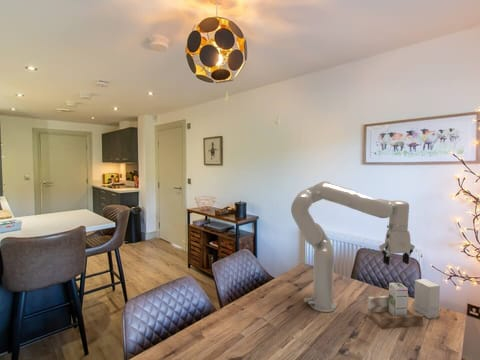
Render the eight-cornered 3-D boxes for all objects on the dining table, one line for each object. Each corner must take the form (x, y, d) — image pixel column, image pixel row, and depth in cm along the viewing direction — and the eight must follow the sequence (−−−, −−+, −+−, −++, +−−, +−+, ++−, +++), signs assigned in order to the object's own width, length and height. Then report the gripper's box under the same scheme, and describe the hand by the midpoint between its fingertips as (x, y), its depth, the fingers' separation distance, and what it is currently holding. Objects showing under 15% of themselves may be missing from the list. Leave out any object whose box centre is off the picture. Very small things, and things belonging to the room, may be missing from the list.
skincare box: (439, 317, 125) (441, 285, 124) (427, 319, 123) (429, 287, 122) (423, 307, 133) (425, 277, 132) (412, 309, 132) (414, 279, 130)
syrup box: (407, 318, 120) (408, 288, 119) (394, 318, 120) (396, 288, 119) (399, 311, 126) (401, 282, 125) (387, 311, 126) (388, 282, 125)
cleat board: (382, 328, 116) (383, 309, 116) (367, 314, 127) (368, 296, 126) (422, 325, 119) (424, 306, 118) (405, 311, 129) (406, 294, 129)
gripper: (386, 230, 117) (384, 267, 118) (421, 229, 119) (419, 266, 120) (375, 225, 124) (373, 260, 126) (409, 225, 126) (406, 259, 128)
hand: (395, 263), depth 123 cm, fingers open, 9 cm apart
